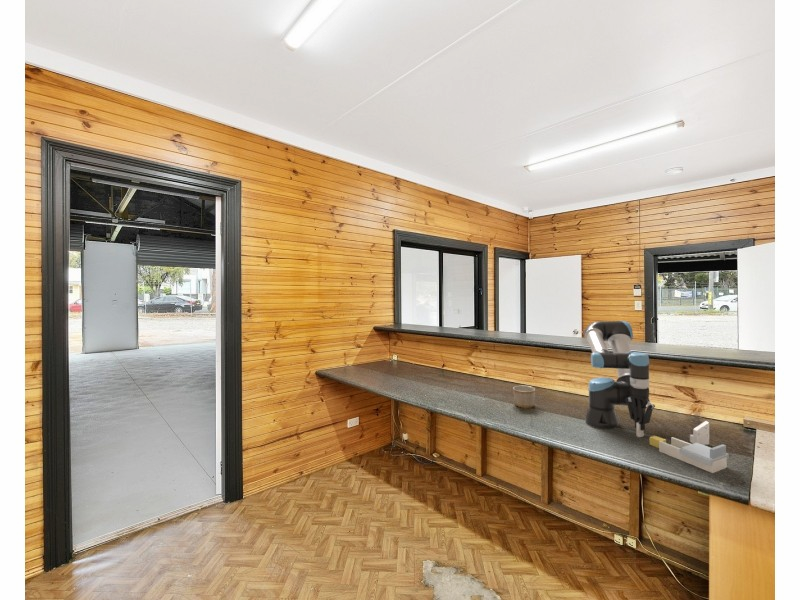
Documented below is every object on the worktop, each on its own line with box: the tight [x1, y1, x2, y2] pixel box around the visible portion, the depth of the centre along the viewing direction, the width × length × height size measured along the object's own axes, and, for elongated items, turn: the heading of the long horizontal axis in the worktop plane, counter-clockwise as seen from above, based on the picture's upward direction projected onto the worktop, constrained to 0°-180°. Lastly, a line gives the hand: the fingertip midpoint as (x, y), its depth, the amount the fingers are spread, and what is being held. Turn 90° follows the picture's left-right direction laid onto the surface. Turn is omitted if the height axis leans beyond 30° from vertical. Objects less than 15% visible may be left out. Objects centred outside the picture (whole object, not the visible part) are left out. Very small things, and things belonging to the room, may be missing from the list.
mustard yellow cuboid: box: [649, 435, 667, 449], centre depth 164 cm, size 5×4×4 cm
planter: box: [512, 384, 536, 409], centre depth 222 cm, size 13×13×10 cm
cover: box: [680, 443, 729, 466], centre depth 147 cm, size 11×11×6 cm
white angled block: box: [689, 420, 710, 446], centre depth 165 cm, size 4×10×9 cm
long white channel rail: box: [658, 436, 728, 474], centre depth 152 cm, size 20×9×4 cm, turn 22°
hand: (640, 436), depth 172 cm, fingers closed
